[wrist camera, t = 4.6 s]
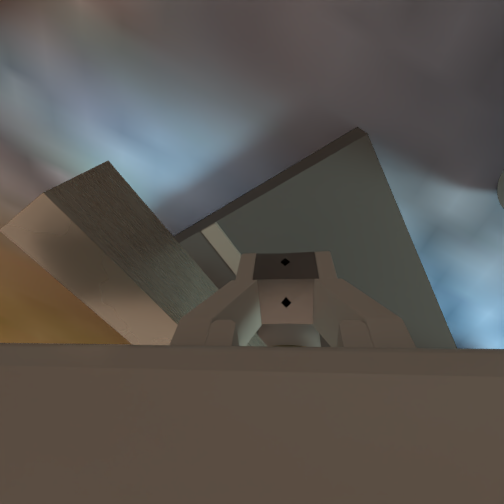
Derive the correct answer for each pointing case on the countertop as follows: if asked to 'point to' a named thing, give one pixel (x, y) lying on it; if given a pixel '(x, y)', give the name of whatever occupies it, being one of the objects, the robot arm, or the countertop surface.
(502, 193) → the bar with end hole
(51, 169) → the countertop surface
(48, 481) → the robot arm
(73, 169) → the countertop surface
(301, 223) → the plate
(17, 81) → the countertop surface
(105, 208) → the gold knob with bar
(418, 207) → the countertop surface
